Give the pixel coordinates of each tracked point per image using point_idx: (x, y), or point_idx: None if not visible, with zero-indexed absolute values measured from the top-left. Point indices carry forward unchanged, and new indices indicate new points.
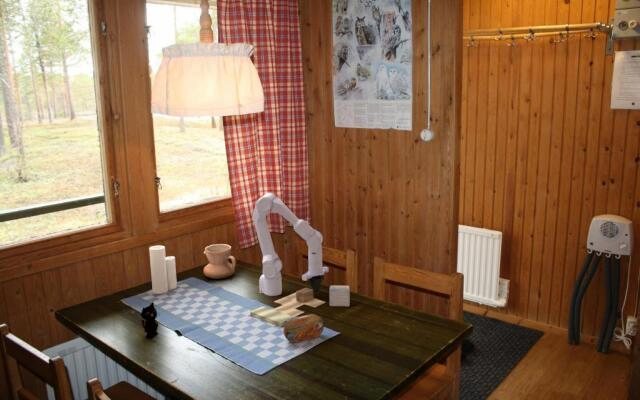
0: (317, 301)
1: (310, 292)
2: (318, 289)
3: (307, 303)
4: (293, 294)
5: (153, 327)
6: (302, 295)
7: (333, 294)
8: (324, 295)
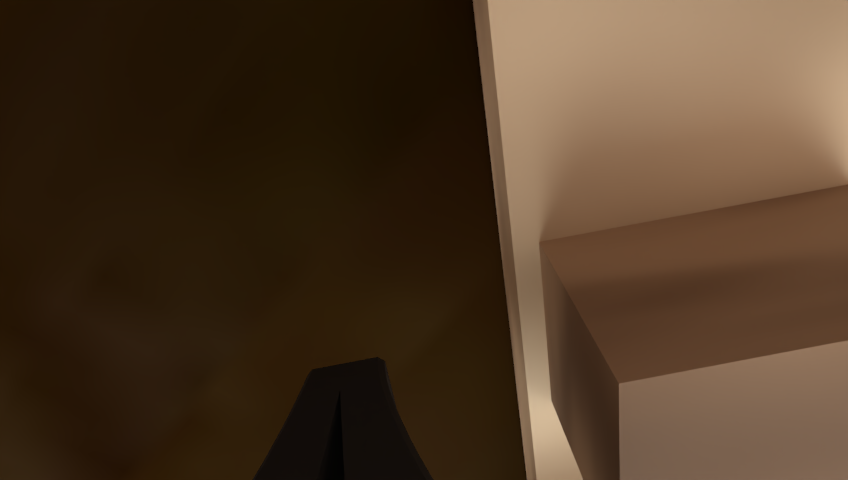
0: (598, 50)
1: (713, 326)
2: (330, 406)
3: (829, 109)
4: None
5: None
6: None
7: None
8: (138, 334)
